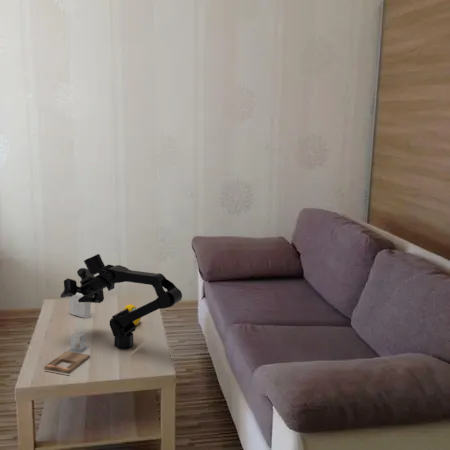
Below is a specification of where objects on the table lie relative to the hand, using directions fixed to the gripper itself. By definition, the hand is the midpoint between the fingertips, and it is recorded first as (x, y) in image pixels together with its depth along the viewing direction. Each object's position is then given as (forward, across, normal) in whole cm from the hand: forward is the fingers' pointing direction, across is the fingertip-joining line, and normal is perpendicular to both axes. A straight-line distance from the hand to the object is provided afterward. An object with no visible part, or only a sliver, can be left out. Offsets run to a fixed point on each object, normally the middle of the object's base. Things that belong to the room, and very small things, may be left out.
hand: (69, 298), depth 231 cm
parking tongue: (-1, -1, +22) cm, 22 cm away
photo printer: (+18, -23, -4) cm, 30 cm away
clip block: (-2, -1, +22) cm, 22 cm away
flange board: (-4, +8, +30) cm, 31 cm away
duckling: (-4, -30, +9) cm, 31 cm away
